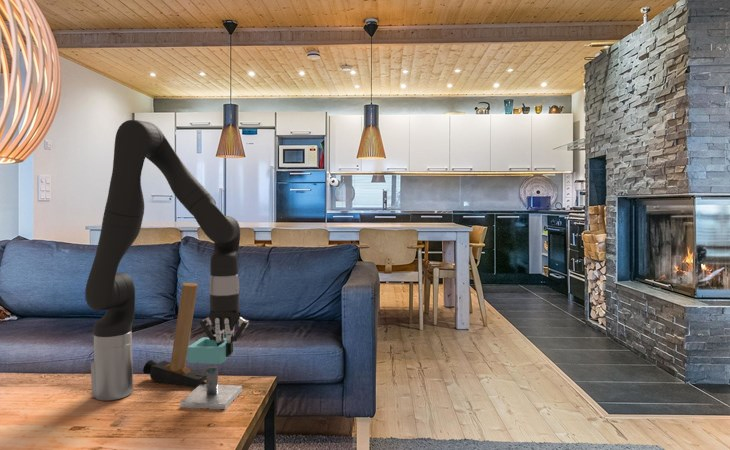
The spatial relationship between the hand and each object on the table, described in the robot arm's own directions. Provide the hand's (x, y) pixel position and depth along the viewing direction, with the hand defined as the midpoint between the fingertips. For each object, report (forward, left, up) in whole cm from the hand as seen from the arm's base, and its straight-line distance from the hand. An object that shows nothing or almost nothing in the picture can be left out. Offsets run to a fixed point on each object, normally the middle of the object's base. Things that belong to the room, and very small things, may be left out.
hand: (225, 355), depth 128 cm
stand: (-4, 0, -12) cm, 13 cm away
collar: (-4, 0, -1) cm, 4 cm away
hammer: (-19, +10, -12) cm, 25 cm away
